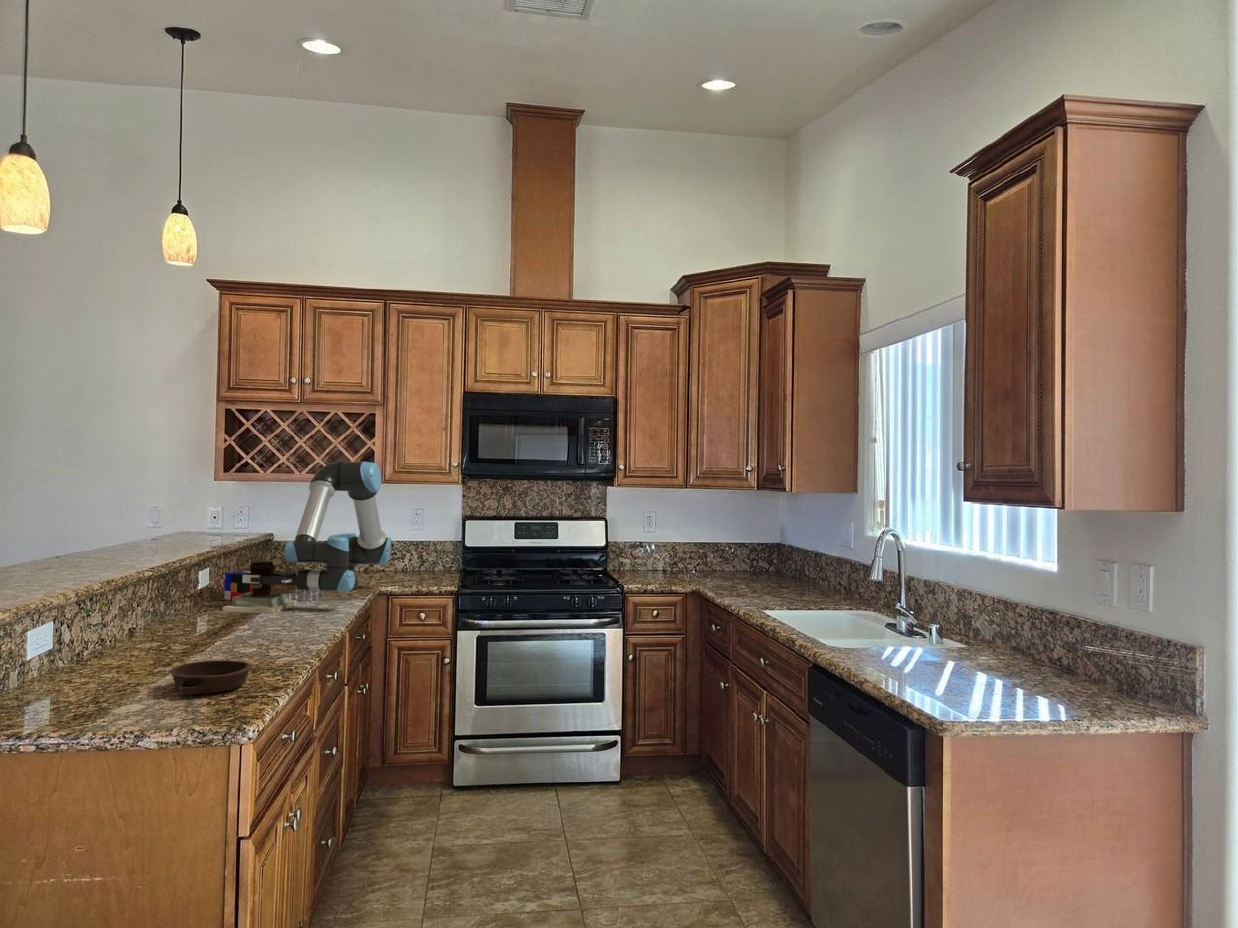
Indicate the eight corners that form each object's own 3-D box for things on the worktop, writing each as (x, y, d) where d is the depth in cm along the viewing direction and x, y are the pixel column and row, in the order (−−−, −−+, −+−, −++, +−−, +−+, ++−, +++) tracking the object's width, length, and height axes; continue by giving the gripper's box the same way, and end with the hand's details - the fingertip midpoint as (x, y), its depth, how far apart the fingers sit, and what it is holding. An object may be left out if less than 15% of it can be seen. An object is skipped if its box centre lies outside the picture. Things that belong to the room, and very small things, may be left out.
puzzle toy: (224, 599, 336) (225, 573, 336) (246, 596, 345) (247, 570, 345) (242, 601, 331) (243, 575, 331) (264, 598, 340) (265, 572, 340)
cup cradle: (248, 602, 329) (249, 590, 329) (296, 604, 328) (296, 592, 328) (222, 611, 309) (223, 598, 309) (272, 613, 308) (273, 600, 308)
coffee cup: (257, 599, 313) (258, 563, 313) (242, 597, 317) (244, 561, 317) (278, 597, 320) (279, 561, 320) (264, 595, 324) (265, 559, 324)
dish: (267, 678, 217) (268, 658, 217) (227, 701, 195) (227, 679, 195) (196, 676, 217) (197, 656, 217) (148, 699, 195) (149, 676, 195)
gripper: (298, 593, 308) (234, 591, 309) (320, 586, 328) (260, 584, 329) (299, 572, 308) (235, 570, 309) (321, 566, 328) (261, 564, 329)
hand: (248, 577), depth 319 cm, fingers closed on coffee cup, 7 cm apart
